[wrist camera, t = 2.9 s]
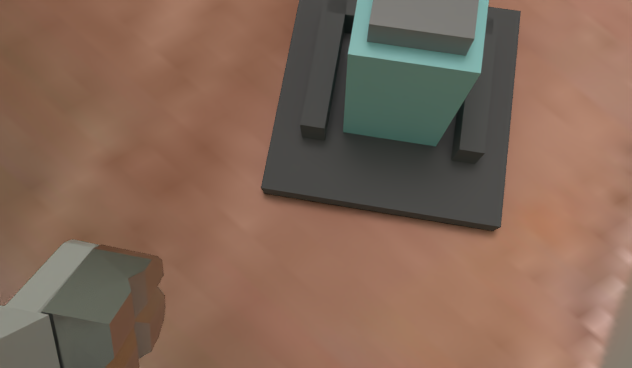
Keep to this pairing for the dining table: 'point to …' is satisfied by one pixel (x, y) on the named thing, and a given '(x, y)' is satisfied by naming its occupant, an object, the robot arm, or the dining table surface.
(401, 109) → the plug
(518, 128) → the dining table surface
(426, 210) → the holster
